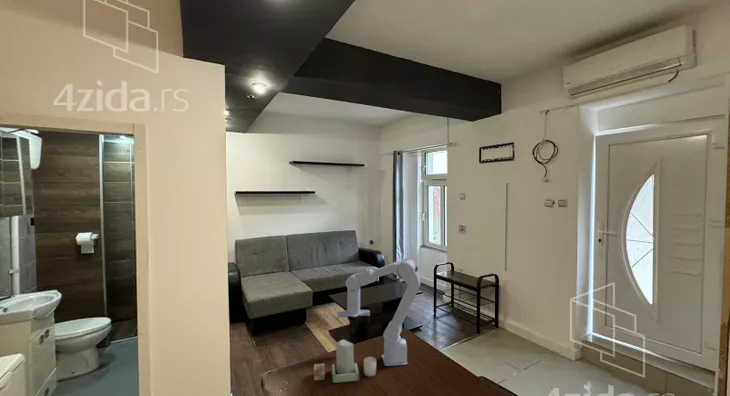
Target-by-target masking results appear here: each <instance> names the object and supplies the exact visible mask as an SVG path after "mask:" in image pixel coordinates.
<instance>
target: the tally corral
mask: <svg viewBox="0 0 730 396" xmlns="http://www.w3.org/2000/svg"><path fill="white" fill-rule="evenodd" d="M335 367H336V366H335V364H332V365H331V375H332V377H331V380H332V383H333V384H334V383H336V384H337V383H343V382H344V383H345V382H356V381H358V382H359V381H360V372H359V367H358V364H357V362H354V373H347V374H339V373H337V374H336V369H335Z"/></svg>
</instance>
